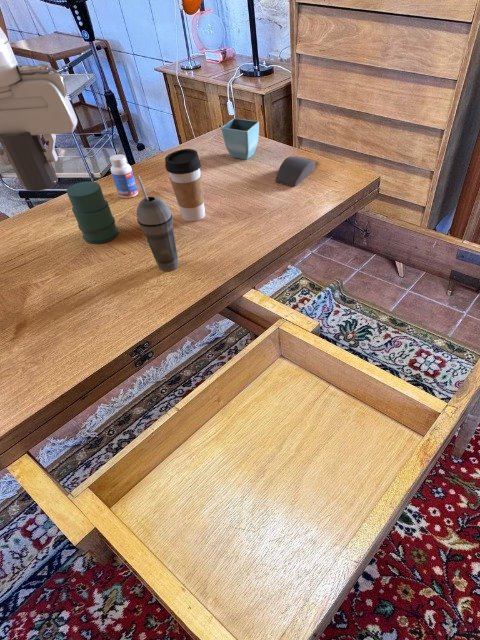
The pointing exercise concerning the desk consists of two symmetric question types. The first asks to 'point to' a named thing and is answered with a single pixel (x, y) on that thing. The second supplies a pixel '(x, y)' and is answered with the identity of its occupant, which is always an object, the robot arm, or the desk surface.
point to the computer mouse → (294, 170)
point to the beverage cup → (158, 230)
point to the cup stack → (92, 212)
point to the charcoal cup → (29, 161)
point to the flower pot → (241, 137)
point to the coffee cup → (187, 182)
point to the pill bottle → (123, 176)
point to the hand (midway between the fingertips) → (30, 162)
